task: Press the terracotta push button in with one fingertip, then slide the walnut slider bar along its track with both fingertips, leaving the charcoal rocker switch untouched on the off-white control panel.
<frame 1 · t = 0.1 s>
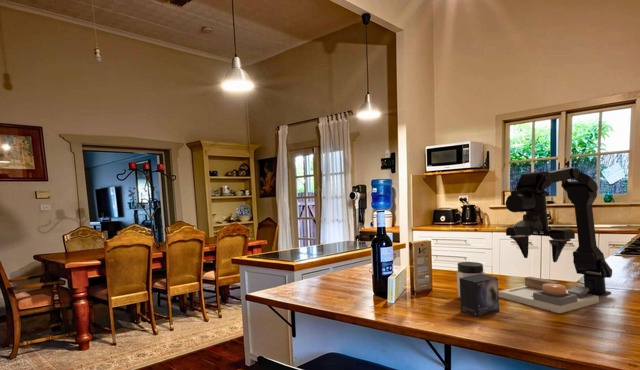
hand: (539, 260, 106), 14 cm above the table, fingers open, 9 cm apart
push button: (554, 288, 104), point 5 cm above the table, slide at 0.0 cm
slider bar: (541, 284, 116), point 4 cm above the table, slide at 0.0 cm
jar: (472, 299, 116), on the table
panel: (546, 299, 111), on the table
small box: (480, 312, 102), on the table
rocker: (578, 290, 108), point 3 cm above the table, hinge at 12.0°
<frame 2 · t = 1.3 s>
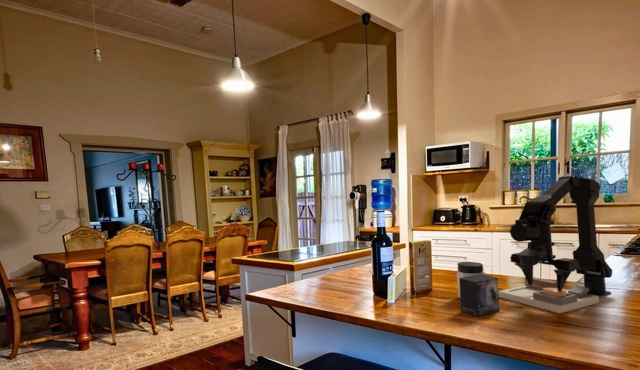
hand: (544, 288, 107), 5 cm above the table, fingers open, 9 cm apart
push button: (554, 293, 104), point 4 cm above the table, slide at 1.4 cm, touching gripper
everything else where it was.
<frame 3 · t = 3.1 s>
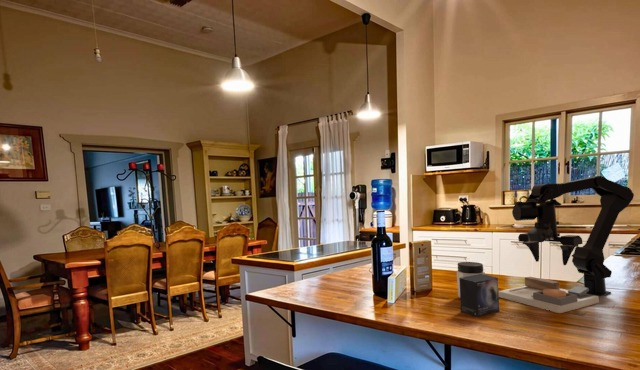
hand: (550, 263, 117), 11 cm above the table, fingers open, 9 cm apart
push button: (554, 294, 104), point 4 cm above the table, slide at 1.8 cm
everything else where it was.
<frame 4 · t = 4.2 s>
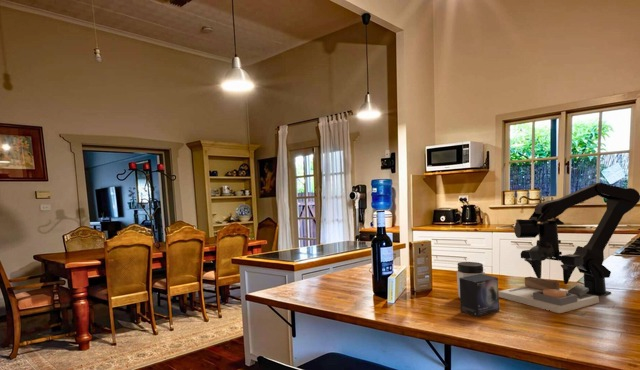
hand: (551, 281, 119), 4 cm above the table, fingers open, 9 cm apart
nothing on the table moved.
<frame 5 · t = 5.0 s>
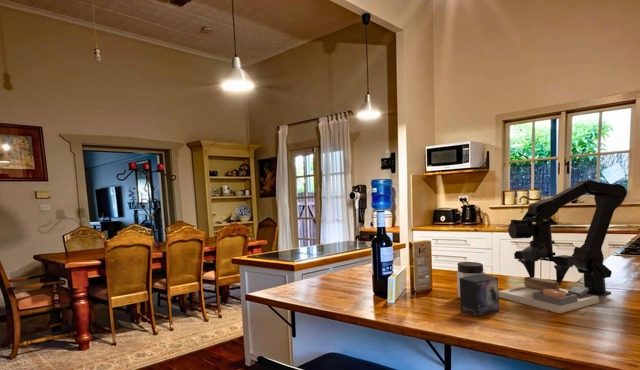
hand: (545, 282, 117), 4 cm above the table, fingers open, 9 cm apart
slider bar: (541, 284, 116), point 4 cm above the table, slide at 0.2 cm, touching gripper
everything else where it was.
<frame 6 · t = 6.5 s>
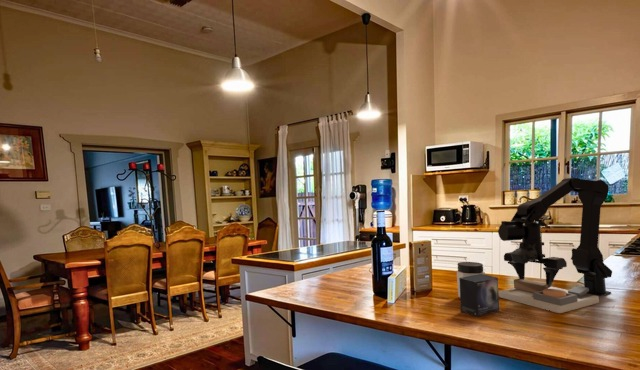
hand: (535, 284, 115), 4 cm above the table
slider bar: (530, 286, 114), point 4 cm above the table, slide at 5.9 cm, touching gripper
everything else where it was.
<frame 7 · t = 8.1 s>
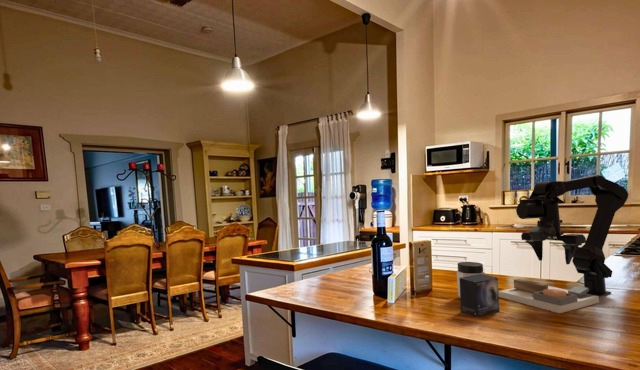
hand: (553, 262, 115), 11 cm above the table, fingers open, 9 cm apart
slider bar: (530, 286, 114), point 4 cm above the table, slide at 5.9 cm
everything else where it was.
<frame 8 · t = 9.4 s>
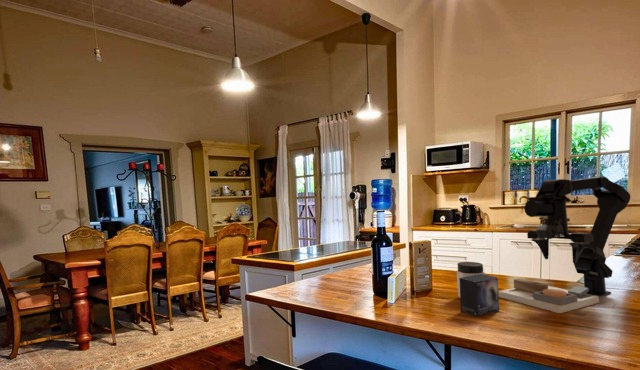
hand: (560, 261, 114), 12 cm above the table, fingers open, 9 cm apart
nothing on the table moved.
at the end: push button slide at 1.8 cm; slider bar slide at 5.9 cm; rocker at +12° (first picture: +12°) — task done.
